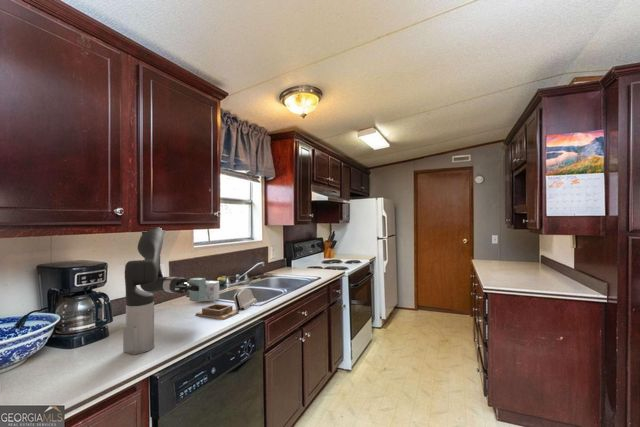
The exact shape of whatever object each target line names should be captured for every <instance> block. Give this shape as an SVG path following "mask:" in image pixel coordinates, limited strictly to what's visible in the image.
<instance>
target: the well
mask: <svg viewBox="0 0 640 427" xmlns="http://www.w3.org/2000/svg"><path fill="white" fill-rule="evenodd" d="M239 312H240V311H239V310H235V309H233V305H228V304H221V303H213V304H211V305H208V306H205V307H202V308H201V310H200V311H198V312H196V313H195V316H199V317H205V318H210V319H211V318H212V319H217V318H218V320H226V319H228V318H231V317H233V316H235V315H237V314H240V313H239Z"/></svg>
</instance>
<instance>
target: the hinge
mask: <svg viewBox="0 0 640 427" xmlns="http://www.w3.org/2000/svg"><path fill="white" fill-rule="evenodd" d="M232 297H233V302H234V306H235V309H236V310H235V311H239V310H240V309H242V308H243V310H244V311H246V310H247V309H249V308H250V307H251V306H250V305H252V304H253V303H255V304H256V303H258V300H257V298H255V296H254V294H253V292H252V290H251V289H250V288H243V289H240V290H238V291H237V292H236V293H235V294H234V296H232ZM253 305H254V304H253ZM253 305H252V306H253ZM248 307H249V308H248Z"/></svg>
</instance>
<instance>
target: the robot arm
mask: <svg viewBox="0 0 640 427" xmlns="http://www.w3.org/2000/svg"><path fill="white" fill-rule="evenodd" d="M165 232H166V230H162V228H160V227H156V228H154V229H151V230H149V231H147V232H142V231H141V235H140V238H139V240H138V243H137V251H138V253H139V255H141V257H142V258H143V259H140V260H138V259H137V260H128V261H127V262H126V263H125V265H124V266H125V267H124V282H125V283H124V284H125V288H124V289H125V325H123V327H122V334H123V336H122V342H123V343H122V347H123V349H122V350H123V353H125V354H130V355H133V356H134V355H138V354H142V353H145V352H146V353H147V352H149V351H151V350H152V349H154V348H155V295H154V293H155V292H167V293H170V294H171V293H172V294H180V295H182V294H184V293H187V292H189V291H199V286H192V285H189V280H187V278H185V277H179V276H178V277H177V276H163V271H162V269H161V253H162V248H163V245H164V244H163V243H164V235H165ZM138 286H140V288H141V289H142V290H141V289H140V288H139V287H138ZM152 292H154V293H152Z"/></svg>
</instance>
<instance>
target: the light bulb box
mask: <svg viewBox="0 0 640 427" xmlns="http://www.w3.org/2000/svg"><path fill="white" fill-rule="evenodd" d="M219 299H220V281H219V280H206V300H204V301H203V302H215V301H217V300H219Z"/></svg>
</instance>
